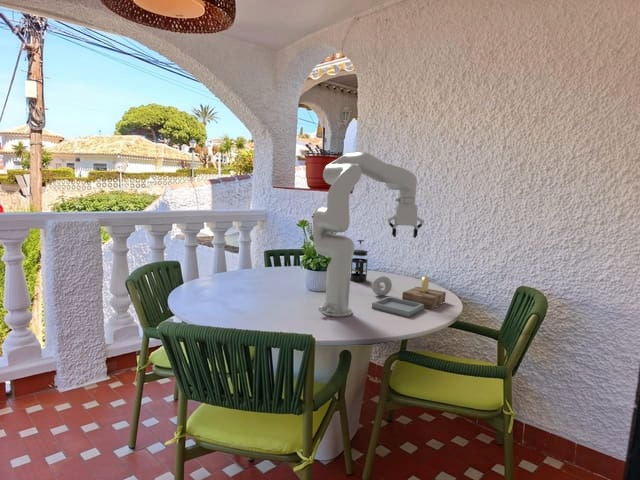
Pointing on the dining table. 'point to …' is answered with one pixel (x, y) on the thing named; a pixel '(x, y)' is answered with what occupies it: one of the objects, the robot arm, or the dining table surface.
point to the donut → (377, 281)
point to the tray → (398, 306)
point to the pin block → (425, 297)
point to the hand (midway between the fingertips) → (404, 237)
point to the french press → (359, 276)
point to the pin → (425, 285)
